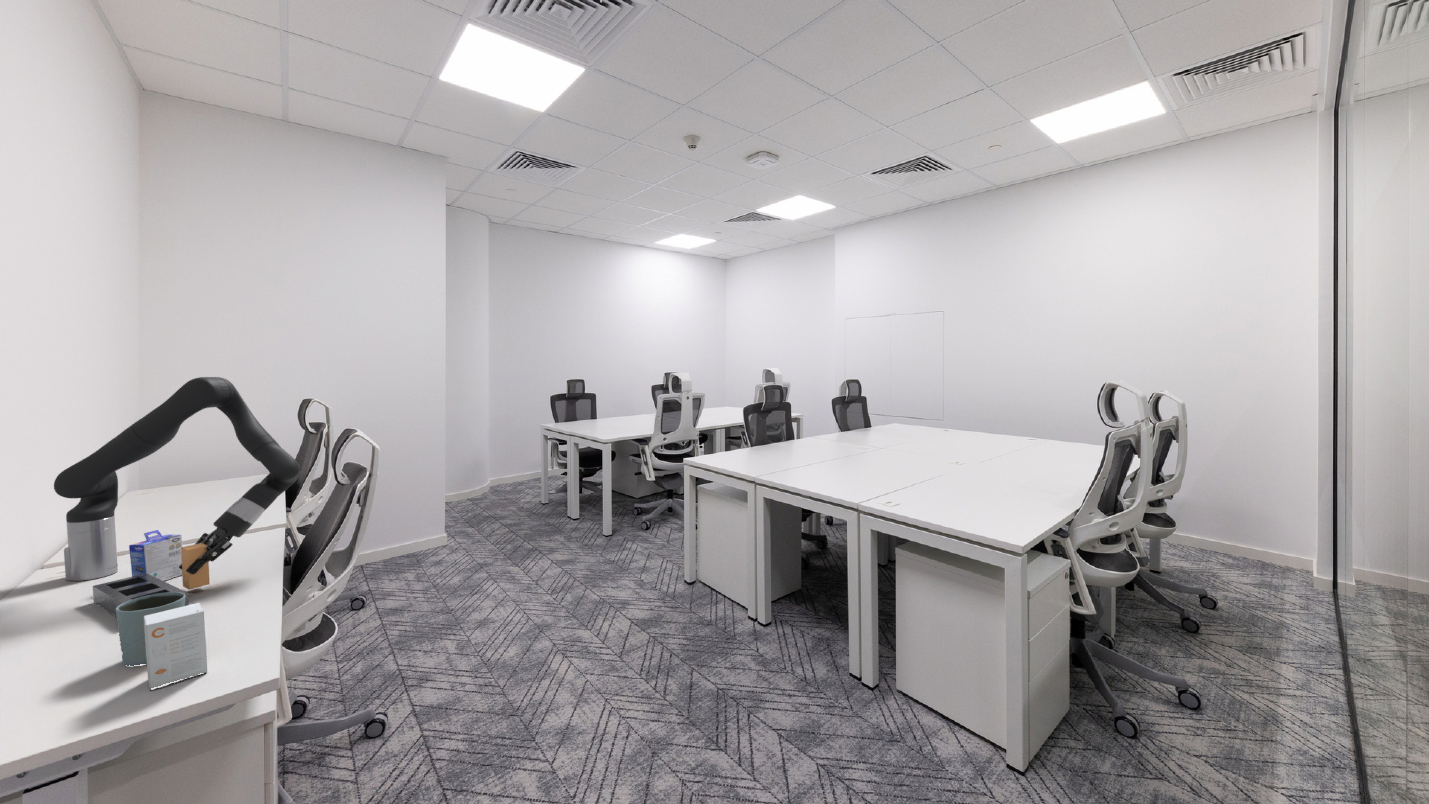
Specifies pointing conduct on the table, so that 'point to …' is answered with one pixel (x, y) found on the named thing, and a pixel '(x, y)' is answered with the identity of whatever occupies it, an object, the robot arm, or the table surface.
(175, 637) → the small box
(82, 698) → the table surface
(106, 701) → the table surface
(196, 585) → the square peg
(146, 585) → the gray slotted block
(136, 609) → the grey-green hollow cylinder
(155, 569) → the ink cartridge box
